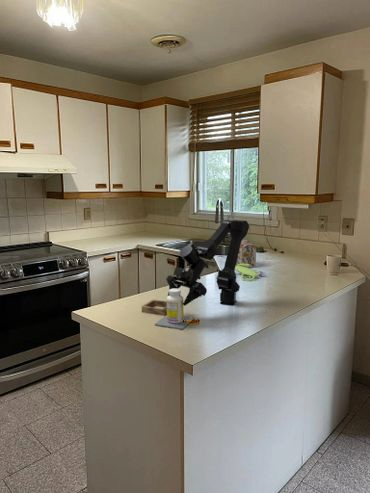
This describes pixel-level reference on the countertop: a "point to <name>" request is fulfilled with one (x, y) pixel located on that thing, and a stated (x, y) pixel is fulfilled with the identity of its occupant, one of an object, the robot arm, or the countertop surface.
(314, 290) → the countertop surface
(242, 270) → the figurine
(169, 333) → the countertop surface
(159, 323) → the slate mat
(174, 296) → the supplement bottle
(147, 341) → the countertop surface
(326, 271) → the countertop surface
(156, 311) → the walnut holder
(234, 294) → the robot arm
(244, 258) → the decorative jar
